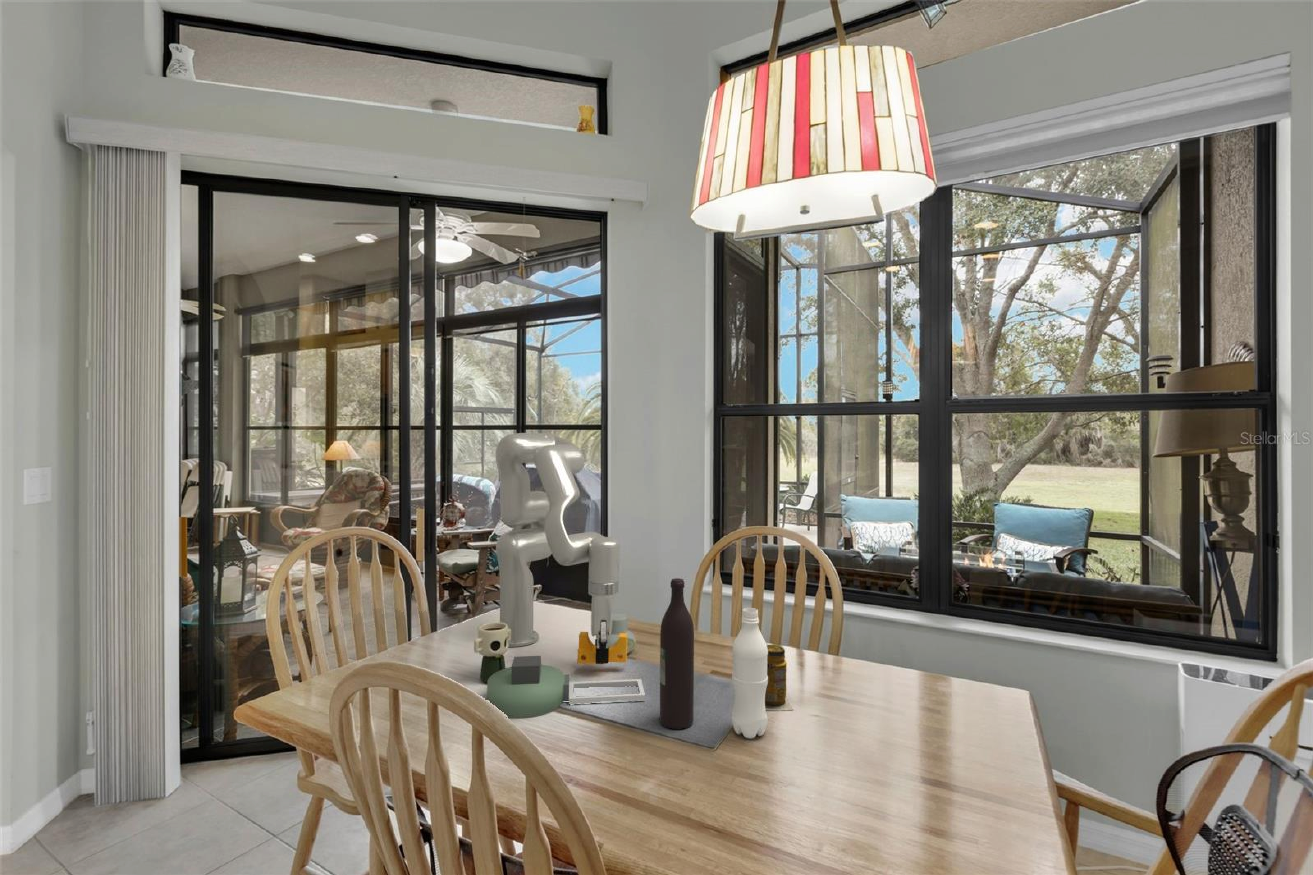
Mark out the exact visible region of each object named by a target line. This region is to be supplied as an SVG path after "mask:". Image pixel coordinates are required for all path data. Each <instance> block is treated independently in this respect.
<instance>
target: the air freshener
mask: <svg viewBox="0 0 1313 875" xmlns="http://www.w3.org/2000/svg"><path fill="white" fill-rule="evenodd" d="M620 633H626V634H627V654H629V653H630V652H632V651H633V650H634V649H635V647H636V645H637V638H636V636H635V634H634V633H633V632H631V631H630V630H628V616H627V615H626V614H624V613H617V612H616V613H615V612H613V619H612V631H611V635H610V636H609V635H608V647H612V646H613V645H615V644H616V643H617V641H618V639H619V635H620ZM619 655H622V654H619Z"/></svg>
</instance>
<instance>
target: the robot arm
mask: <svg viewBox="0 0 1313 875" xmlns="http://www.w3.org/2000/svg"><path fill="white" fill-rule="evenodd" d="M495 462H496V468H497V471H498V474H499V475H498V476H499V496H500V498H499V501H500V516H501V520H502V522H503V523H504V524H505V525H506V526H510V527H517V526H525V525H530V526H531V527H530V528H524V529H518V530H517V529H515V530H511V531H508V532H504V533H503V534H502V535H500V536H499V538H497V541H496V543H495V550H496V558H497V563H498V570H499V622H501V623H505V624H507V625H508V629H511V641H509V642H508V644H509V645H508V648H509V647H510V648H512V647H513V648H514V647H515V648H517V647H525V646H528V645H532V644H534V643H536V642H537V641H538V640H539V639H540V638H539V637H540V634H539V633H538V632H537V631H536V630H534V576H533V572H531V569H530V568H529V566H528V563H530V562H535V561H539V560H540V561H541V560H544V559H546V558H549V557H551V556H552V557H553V559H554V560H555V561H556V562H557V563H558V564H559V565H561V566H565V567H567V566H568V567H569V566H573V565H580V564H583V563H588V588H587V589H588V595H589V596H591V608H590V610H591V611H590V615H591V616H590V632H591V633H590V634H591V637H595V639H594V645H595V646H597V647H596V660H595V662H596V664H595V665H606V664H609V663H610V662H609V647H608V635H609V636H610V635H611V631H612V619H613V614H614V597H616V596H617V595H618V594H619V577H620V575H619V573H620V572H619V571H620V542H619V540H618V539H617V538H614V537H611V536H609V537H608V536H604V535H602V534H600V533H598V532H595V531H587V532H581V533H580V532H579V533H573V534H568V532H567V530H566V528H565V527H566V526H565V524H564V519H563V518H564V512H565V509H566V508H568V507H569V506H570V505H572V504H574V503H575V502H576V501H578V499H579V497H580V495H581V493H580V489H579V487H578V484H577V482H576V479H575V477H574V475H575V474H579V473H580V472H581V471H582V470H583V469H584V467H585V456H584V454H583V451H582V450H581V448H580V447H579V446H577V444H575V443H573V442H572V441H569V440H566V439H564V438H563V437H560V436H558V435H556V434H553V433H549V432H546V433H545V432H519V433H518V432H517V433H516V432H515V433H511V434H507V435H505V436H503V437H502V438H501V439H500V440H499V442H498V443H497V446H496V449H495ZM525 463H527V464H529V463H530V464H532V463H533V464H534V466H535V468H536V471H537V474H538V477H539V478H540V482H541V484H542V487H543V489H544V491H543V490H534V491H533V490H532V491H531V477H530V474H529V472H528V470H527V469H526V466H524V464H525Z"/></svg>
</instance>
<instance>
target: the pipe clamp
mask: <svg viewBox="0 0 1313 875" xmlns="http://www.w3.org/2000/svg"><path fill="white" fill-rule="evenodd" d="M579 632H580V633H579V634H578V648H577V656H576V658H577V661H576V662H577V664H581V665H582V664H583V665H584V664H586V665H597V664H596V662H595V660H596V647H597V646H595V643H593V642H592V641H591V639H590V635H589V631H579ZM619 654H622V655H619ZM627 659H628V653H627V634H626V633H620V635H619V639H618V641H617V643H616V644H615V645H613V646H612V647H609V662H608V663H624V664H625V663H627Z"/></svg>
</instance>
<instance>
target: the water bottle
mask: <svg viewBox="0 0 1313 875" xmlns="http://www.w3.org/2000/svg"><path fill="white" fill-rule="evenodd" d="M741 622H742V625H741V629H740V631H739V632H738V634H737V636H736V638H735V640H734V642H733V645H732V650H731V652H732V674H731V681H732V684H733V689H734V690H733V691H734V702H733V708H732V711H731V712H732V713H731V723H732V726H733V727H732V728H733V729H734V732H735V733H736V734H737V735H741V734H742V735H743V737H744V738H746V739H755V737H756V736H759V737H761V736H763V735H764V733H765V731H766V729H767V728H768V726H767V725H768V721H769V720H768V715H767V710H765V692H766V687H767V684H768V676H767V655H768V648H767V645H768V644H767V643H766V640H765V639H764V636H763V635H762V633H761V631H760V628H759V623H760V618H759V610H758V609H757V608H754V607H744V608H743V609H742V619H741Z"/></svg>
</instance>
